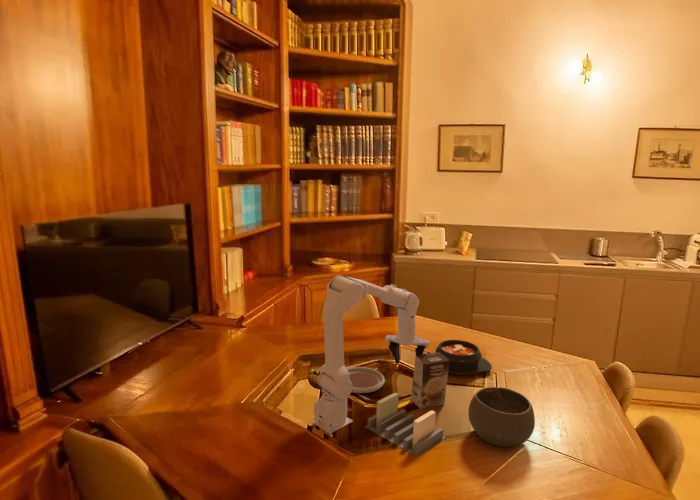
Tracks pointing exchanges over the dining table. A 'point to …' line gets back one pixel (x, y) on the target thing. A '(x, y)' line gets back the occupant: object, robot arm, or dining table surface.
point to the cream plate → (423, 426)
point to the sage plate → (387, 407)
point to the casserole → (463, 357)
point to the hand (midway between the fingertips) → (408, 364)
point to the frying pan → (363, 379)
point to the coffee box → (430, 380)
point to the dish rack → (403, 432)
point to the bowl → (501, 416)
